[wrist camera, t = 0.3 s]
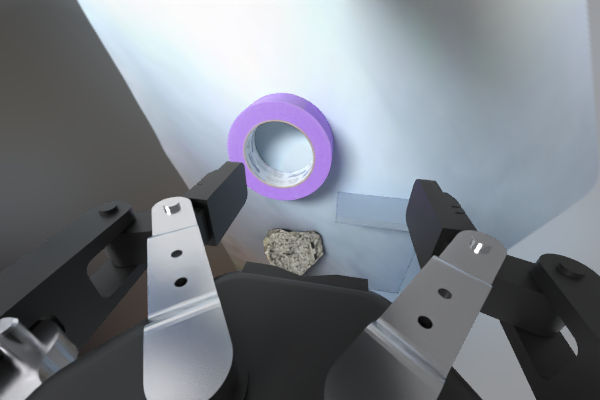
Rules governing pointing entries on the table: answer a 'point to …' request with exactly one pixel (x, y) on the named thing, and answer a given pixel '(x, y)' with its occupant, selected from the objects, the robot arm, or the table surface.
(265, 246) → the rock sample
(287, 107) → the masking tape
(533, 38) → the table surface
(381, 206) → the box
